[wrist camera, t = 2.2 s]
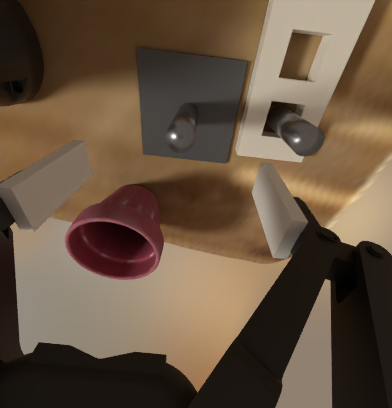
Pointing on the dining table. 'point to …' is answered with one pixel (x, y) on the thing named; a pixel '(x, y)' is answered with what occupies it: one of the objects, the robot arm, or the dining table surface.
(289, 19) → the hole board
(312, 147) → the seated peg
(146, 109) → the mat
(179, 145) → the peg
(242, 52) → the dining table surface
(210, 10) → the dining table surface
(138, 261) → the plant pot
